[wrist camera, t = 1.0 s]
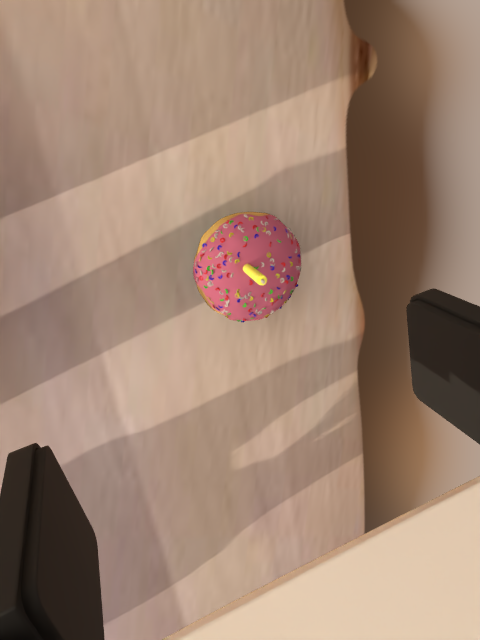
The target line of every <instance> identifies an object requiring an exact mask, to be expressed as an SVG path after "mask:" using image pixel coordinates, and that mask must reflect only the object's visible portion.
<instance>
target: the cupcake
mask: <svg viewBox="0 0 480 640" xmlns="http://www.w3.org/2000/svg"><path fill="white" fill-rule="evenodd" d="M300 271H301V256H300V246H299V243H298V241H297V239H296V238H295V235H293V234H292V233H291V229H290V228H287V227H286V226H285V225H284V224H283V223H282V222H281V221H280V220H279V219H277V218H276V217H275V216H273V215H270V214H267V213H258V212H243V213H236V214H232V215H229V216H226V217H224V218H222V219H220V220H218V221H217V222H216V223H215V224H214V225H213V226H212V227H211V228H210V229H209V230H208V231H207V232H205V233H204V235H203V236H202V238H201V240H200V243H199V247H198V250H197V253H196V256H195V258H194V267H193V274H194V279H195V282H196V284H197V288H198V290H199V292H200V294H201V295H202V297H203V298H204V300H205V301H206V303H207V304H208V305H209V306H210V307H211V308H212V309H213V310H215V311H216V312H218V313H220V314H223V315H225V316H226V317H227V318H229V319H231V320H237V321H241V322H245V321H249V320H259V319H262V318H267V317H268V316H269V315H270V314H272V313H274V312H275V311H276V310H278V309H279V308H280V309H281V307H282V305H283V304H284V303H286V302H287V299H288V300H289V298H290V297H291V294H292V292H293V291H294V289H295V287H297V286H298V284H297V281H298V278H299V275H300ZM296 284H297V286H296Z"/></svg>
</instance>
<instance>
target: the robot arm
mask: <svg viewBox="0 0 480 640" xmlns="http://www.w3.org/2000/svg"><path fill="white" fill-rule="evenodd" d="M407 322H408V335H409V346H410V360H411V372H412V385H413V391H414V393H415V395H416V396H417V398H418V399H419V400H420V401H422V402H423V403H424V404H426V405H427V406H428V407H430V408H431V409H432V410H434V411H435V412H437V413H438V414H439V415H441V416H442V417H443V418H445V419H446V420H447V421H449V422H450V423H452V424H453V425H454V426H456V427H457V428H458V429H460V430H461V431H462V432H464V433H465V434H466V435H468V436H469V437H470V438H472V439H473V440H475V441H476V442H477V443H479V444H480V307H479V306H477V305H474V304H472V303H469V302H467V301H465V300H462V299H460V298H457V297H455V296H452V295H450V294H447V293H444V292H442V291H439V290H437V289H430V290H427V291H425V292H422V293H419V294H417V295H415V296H413V297H412V298H411V300H410V303H409V304H408V305H407ZM0 640H104V627H103V614H102V601H101V587H100V574H99V560H98V547H97V540H96V536H95V533H94V530H93V528H92V526H91V524H90V522H89V520H88V519H87V517H86V515H85V513H84V511H83V509H82V507H81V505H80V503H79V501H78V500H77V498H76V496H75V494H74V492H73V490H72V488H71V486H70V484H69V482H68V481H67V479H66V477H65V475H64V473H63V471H62V469H61V467H60V465H59V463H58V461H57V460H56V458H55V456H54V454H53V452H52V450H51V449H50V447H49V446H44V447H42V448H40V446H39V445H38V444H37V443H34V444H32V445H29V446H26V447H24V448H21V449H19V450H16V451H14V452H11V453H9V454H8V457H7V462H6V468H5V473H4V478H3V483H2V489H1V494H0ZM162 640H480V476H479V477H477V478H475V479H473V480H471V481H469V482H467V483H465V484H463V485H461V486H459V487H457V488H455V489H453V490H451V491H449V492H447V493H445V494H443V495H441V496H439V497H437V498H435V499H433V500H431V501H429V502H427V503H425V504H423V505H421V506H419V507H417V508H415V509H413V510H411V511H409V512H407V513H405V514H403V515H401V516H399V517H397V518H395V519H394V520H392V521H389V522H388V523H386V524H384V525H382V526H380V527H378V528H376V529H374V530H372V531H370V532H368V533H366V534H364V535H362V536H360V537H358V538H356V539H354V540H352V541H350V542H348V543H346V544H344V545H342V546H340V547H338V548H336V549H334V550H333V551H331V552H329V553H327V554H325V555H323V556H321V557H319V558H317V559H315V560H313V561H311V562H309V563H307V564H305V565H303V566H301V567H299V568H298V569H296V570H294V571H292V572H290V573H288V574H286V575H284V576H282V577H280V578H278V579H276V580H274V581H272V582H270V583H268V584H266V585H265V586H263V587H261V588H259V589H257V590H255V591H253V592H251V593H249V594H247V595H245V596H243V597H241V598H239V599H237V600H235V601H233V602H232V603H230V604H228V605H226V606H224V607H222V608H220V609H218V610H216V611H214V612H212V613H211V614H209V615H207V616H205V617H203V618H201V619H199V620H198V621H196V622H194V623H192V624H190V625H188V626H186V627H184V628H183V629H181V630H179V631H177V632H175V633H173V634H171V635H169V636H168V637H166V638H164V639H162Z"/></svg>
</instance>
